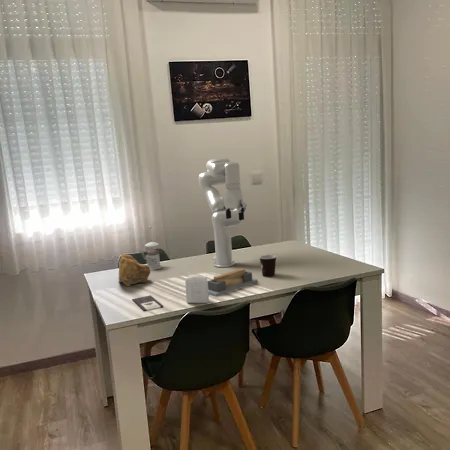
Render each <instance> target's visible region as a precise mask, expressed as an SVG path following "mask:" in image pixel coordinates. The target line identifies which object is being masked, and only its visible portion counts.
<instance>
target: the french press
mask: <svg viewBox="0 0 450 450" xmlns="http://www.w3.org/2000/svg"><path fill="white" fill-rule="evenodd" d="M152 228H153V227H152V225H149V226H148V229H149V230H150V231H149V232H150V234H152V233H151V229H152ZM150 240H151V241H150V242H147V243H146V244H144V247H143V248H142V249H141V252H142V254H141V256H142V258H143V259H144V260H146V265H147V266H148V267H149V268H150V271H151V270H158V269H161V268H162V267H163V266H162V265H161V261H160V260H161V259H160V252H159V250H158V249H151V250H147V248H153V247H154V248H155V247H158V246H159V243H158V242H154V241H152V239H150ZM145 250H147V251H146V254H145V253H144V251H145Z"/></svg>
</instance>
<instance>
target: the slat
mask: <svg viewBox="0 0 450 450" xmlns="http://www.w3.org/2000/svg"><path fill="white" fill-rule="evenodd" d="M245 271H246V269H245V268H237V269H234V270H231V271H227V272H223V273H220V274H216V275H215V276H214V275H213V279H214V282H216V283H219V282H222V281H225V282H226V287H229V286H232V285H235V284H238V283H240V282H243V274H245Z"/></svg>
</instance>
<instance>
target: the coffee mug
mask: <svg viewBox="0 0 450 450" xmlns="http://www.w3.org/2000/svg"><path fill="white" fill-rule="evenodd" d="M259 260H260V261H259V263H260V267H261V268H260V270H261V273H262V277H263V278H264V277H265V278H273V277H275V276H276V264H277V263H276V261H277V256H276V255H273V254H264V255H260V256H259Z"/></svg>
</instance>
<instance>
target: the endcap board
mask: <svg viewBox="0 0 450 450" xmlns="http://www.w3.org/2000/svg"><path fill="white" fill-rule="evenodd" d="M207 281H208V294H209V295H210V296H213V297H218V296H222V295H223V294H227V293H230V292H233V291H235V290H238V289H241V288H244V287H247V286H249V285H253V284H256V283H258V282H259V281H258V279H256V278H253V273H252V272H250V271H247V270H245V274H243V282H240V283H238V284H235V285H232V286H229V287H226V282H225V281H222V282H219V283H216V282H214V278H213V279H209V280H207Z"/></svg>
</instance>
